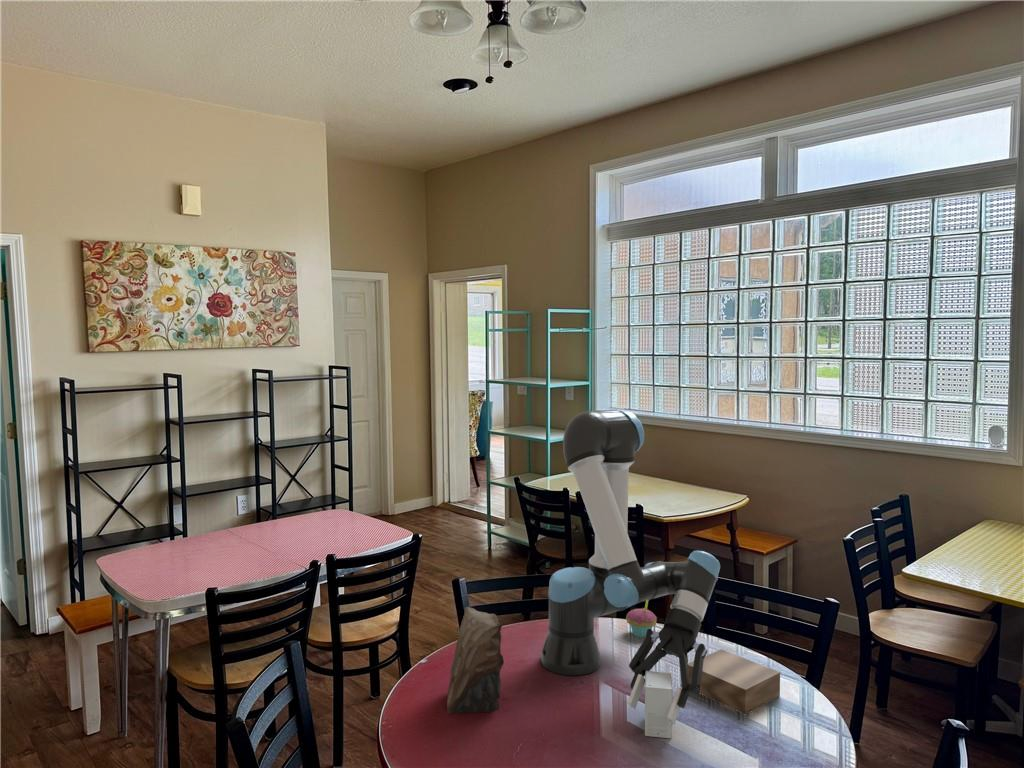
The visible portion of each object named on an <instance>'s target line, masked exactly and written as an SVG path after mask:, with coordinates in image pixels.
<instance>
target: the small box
mask: <svg viewBox="0 0 1024 768" xmlns="http://www.w3.org/2000/svg"><path fill="white" fill-rule="evenodd" d="M644 679H645V684H644V686H645V687H644V736H645V737H654V738H662V739H663V738H664V739H672V738H673V737H672V733H673V723H671V722H670V721H669V719H668V718H667V716H668V713H669V710H670V707H671V705H672V702H673V682H672V681H673V680H672V673H671V672H663V671H662V672H661V671H652V670H650V671H645V676H644Z"/></svg>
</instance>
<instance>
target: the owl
mask: <svg viewBox="0 0 1024 768" xmlns="http://www.w3.org/2000/svg"><path fill="white" fill-rule="evenodd" d="M502 626H503V625H502V624H501V623H500V622H499V618H498V616H497V614H496V613H488V612H484V611H479V610H477V609H475V608H474V607H471V606H466V607H464V615H463V617H462V620H461V624H460V626H459V630H458V637H457V641H456V646H455V649H454V655H453V659H452V664H451V668H450V677H449V684H448V689H447V701H446V705H447V706H446V707H447V709H446V714H449V715H450V714H466V713H481V712H484V713H485V712H486V713H489V712H490V713H491V712H494V711H497V710H499V709H500V706H499V701H498V699H500V698H501V688H502V687H501V686H502V685H501V683H502V682H501V681H502V680H501V670H502V668H503V666H504V663H505V661H504V656H503V655H502V654H501V645H502V643H501V642H502V633H501V630H502Z"/></svg>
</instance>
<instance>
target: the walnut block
mask: <svg viewBox="0 0 1024 768" xmlns="http://www.w3.org/2000/svg"><path fill="white" fill-rule="evenodd" d="M693 665H694V660H692V661H691V662H688V669H689V678H690V684H691V681H692V673H693ZM699 693H701V694H703V695H702V696H704V695H705V696H704V697H706V696H707V697H706V698H708V697H709V698H708V699H710V698H711V699H710V700H712V699H714V700H715V702H716V701H717V703H719V702H720V703H719V704H721V703H722V704H721V705H722V706H725V705H726V706H725V707H727V706H728V707H727V708H729V707H730V708H729V709H731V708H732V710H734V711H736V710H737V711H736V712H738V711H739V712H738V713H740V712H741V713H740V714H742V715H744V714H745V715H744V716H746V715H748V714H749V713H752V712H753V711H755V710H757V709H759V708H760V707H763V706H764V705H766V704H768V703H770V702H771V701H773V700H775V699H777V698H778V697H780V696H781V695H780V693H781V672H780V671H778V670H776V669H773V668H771V667H767V666H766V665H763V664H760V663H758V662H755V661H752V660H750V659H748V658H745V657H742V656H740V655H737V654H735V653H733V652H730V651H728V650H724V649H722V648H721V649H718V650H715V651H713V652H711V653H709V654H706V656H705V658H704V661H703V670H702V678H701V686H700V692H699ZM699 693H698V694H699ZM701 694H700V695H701ZM714 700H713V701H714ZM751 711H752V712H751Z"/></svg>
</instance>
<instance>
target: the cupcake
mask: <svg viewBox="0 0 1024 768" xmlns="http://www.w3.org/2000/svg"><path fill="white" fill-rule="evenodd" d="M648 605H649V600H646V601H645V605H644V607H642V608H634V609H631V610H630V611H628V612H627V613H626V617H625V619H626V623H628V624H629V625H630V627H631V628H630V629H631V633H632V635H633V636H635V637H637V638H646V633H647V630H648V629H651V630H653V627H654V626H655V625H656V624H657V620H658V619H657V618H658V617H657V615H656V614H655V613H653V611H651V610H649V609H648Z"/></svg>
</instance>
